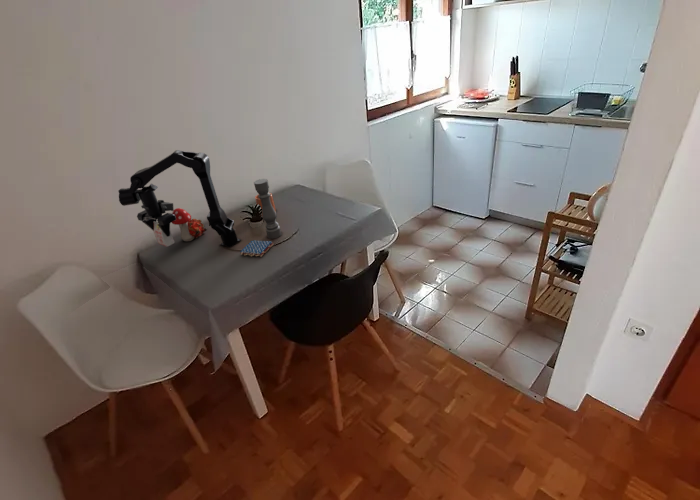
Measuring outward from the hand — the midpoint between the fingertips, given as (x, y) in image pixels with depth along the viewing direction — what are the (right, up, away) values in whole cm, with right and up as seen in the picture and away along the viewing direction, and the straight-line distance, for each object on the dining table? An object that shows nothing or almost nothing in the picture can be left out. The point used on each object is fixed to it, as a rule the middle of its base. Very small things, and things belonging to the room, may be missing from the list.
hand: (163, 234), depth 177 cm
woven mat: (+42, -7, -6) cm, 42 cm away
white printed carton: (+1, -4, +2) cm, 4 cm away
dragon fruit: (+9, 0, +15) cm, 18 cm away
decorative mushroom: (+5, +5, +10) cm, 12 cm away
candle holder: (+47, 0, +5) cm, 47 cm away
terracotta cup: (+39, +12, +27) cm, 49 cm away
